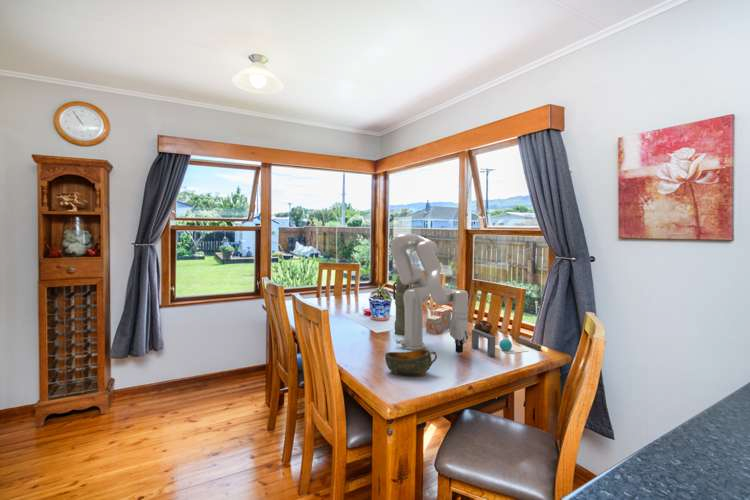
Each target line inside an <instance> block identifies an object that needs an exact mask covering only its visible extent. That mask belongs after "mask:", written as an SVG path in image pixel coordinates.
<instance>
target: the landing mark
mask: <svg viewBox="0 0 750 500" xmlns="http://www.w3.org/2000/svg"><path fill="white" fill-rule="evenodd" d="M495 349H496V350H500V351H501V352H504V353H506V354H510V355H511V354H518V353H525V352H529V350H528V349H526V348H524V347H521V346H518V345H517V344H513V343H512V348H511V349H510V350H509V351H504V350H502V349H501V348H500V344H495Z"/></svg>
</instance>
